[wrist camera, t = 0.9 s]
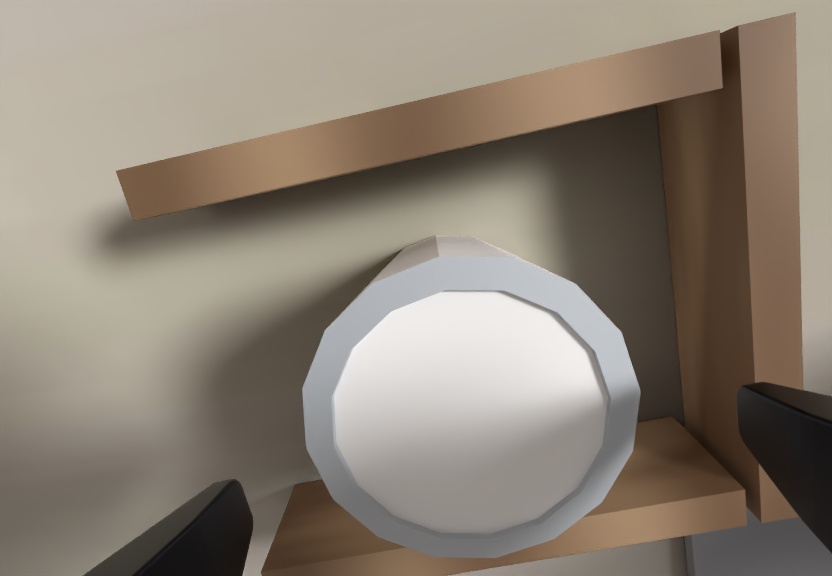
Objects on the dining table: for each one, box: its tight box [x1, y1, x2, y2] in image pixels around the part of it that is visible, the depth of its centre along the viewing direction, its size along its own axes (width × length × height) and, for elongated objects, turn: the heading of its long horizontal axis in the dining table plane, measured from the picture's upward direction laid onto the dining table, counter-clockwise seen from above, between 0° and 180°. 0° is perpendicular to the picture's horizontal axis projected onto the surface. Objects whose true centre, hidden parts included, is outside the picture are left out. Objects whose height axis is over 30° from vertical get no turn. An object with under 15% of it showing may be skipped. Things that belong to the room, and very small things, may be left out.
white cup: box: [302, 235, 641, 558], centre depth 13 cm, size 7×7×7 cm
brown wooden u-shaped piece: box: [116, 13, 803, 576], centre depth 14 cm, size 16×13×4 cm
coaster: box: [684, 507, 832, 576], centre depth 18 cm, size 9×9×1 cm
